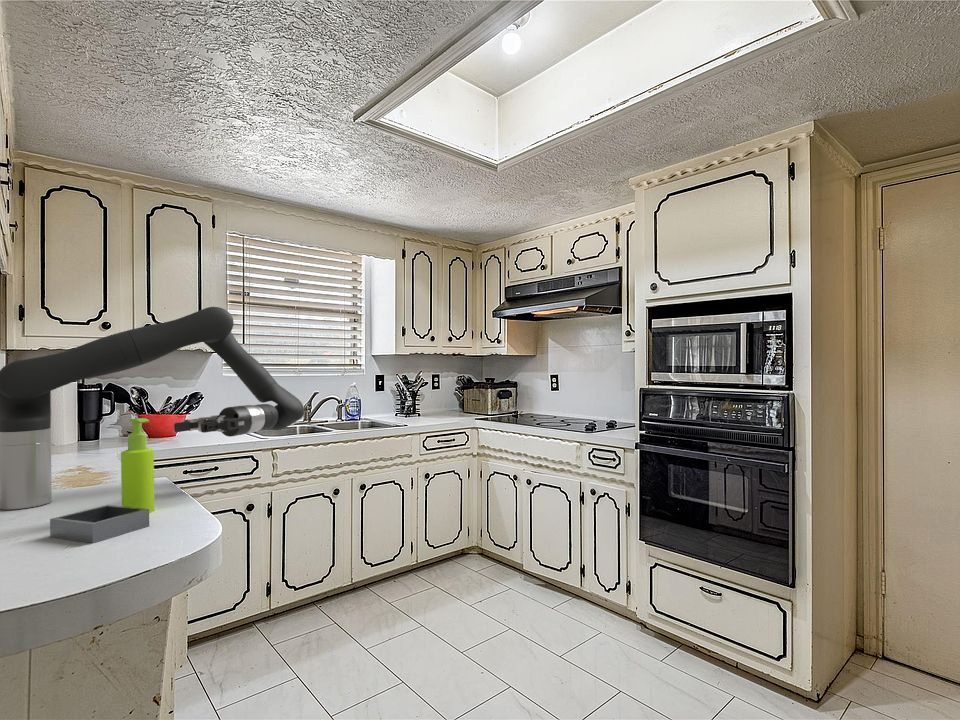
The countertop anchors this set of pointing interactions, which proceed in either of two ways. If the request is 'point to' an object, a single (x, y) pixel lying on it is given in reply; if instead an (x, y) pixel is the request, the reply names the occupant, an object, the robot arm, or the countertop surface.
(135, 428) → the soap dispenser
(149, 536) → the countertop surface
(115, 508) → the metal tray
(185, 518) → the countertop surface
